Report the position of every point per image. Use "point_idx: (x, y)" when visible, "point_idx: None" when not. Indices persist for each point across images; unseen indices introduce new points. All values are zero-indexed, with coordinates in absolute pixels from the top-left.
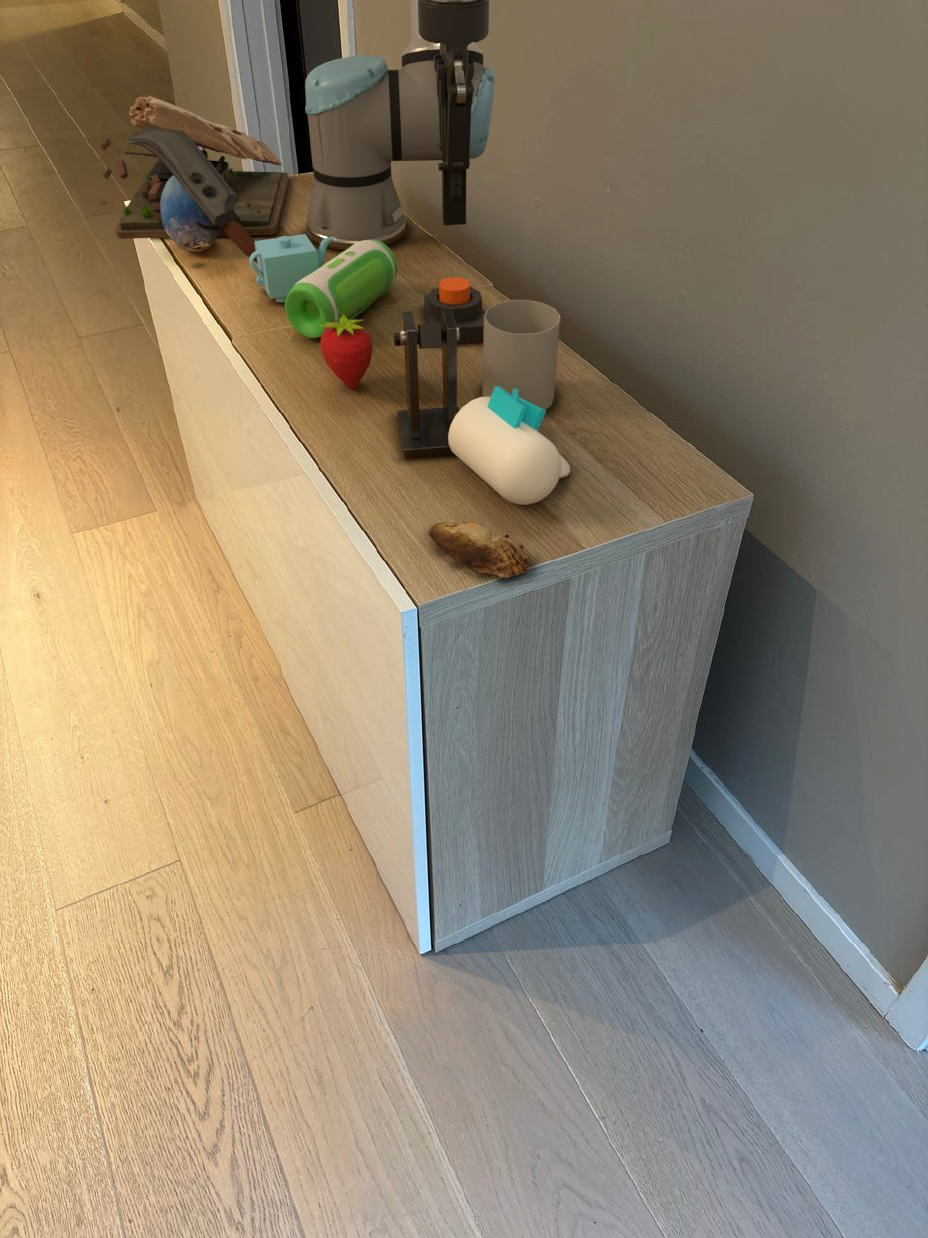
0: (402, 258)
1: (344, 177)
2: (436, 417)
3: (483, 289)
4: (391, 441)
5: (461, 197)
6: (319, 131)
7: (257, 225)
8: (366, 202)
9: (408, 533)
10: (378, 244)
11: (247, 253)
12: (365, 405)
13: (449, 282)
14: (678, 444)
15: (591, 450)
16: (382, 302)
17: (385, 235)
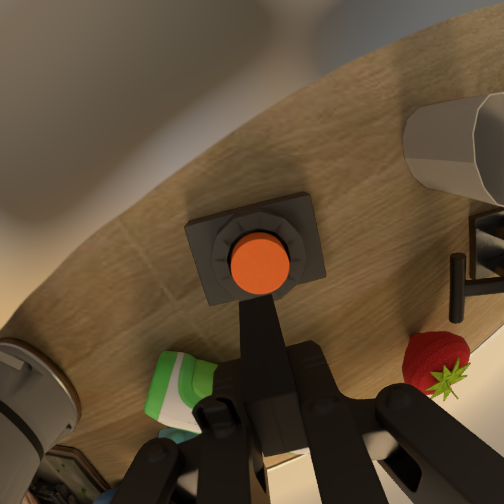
0: (68, 338)
1: (34, 447)
2: (489, 240)
3: (125, 216)
4: (493, 275)
5: (314, 343)
6: (23, 498)
7: (79, 464)
8: (34, 408)
9: None
10: (167, 401)
11: None
12: (444, 314)
13: (256, 277)
14: (476, 10)
15: (501, 87)
16: (198, 350)
17: (43, 366)
